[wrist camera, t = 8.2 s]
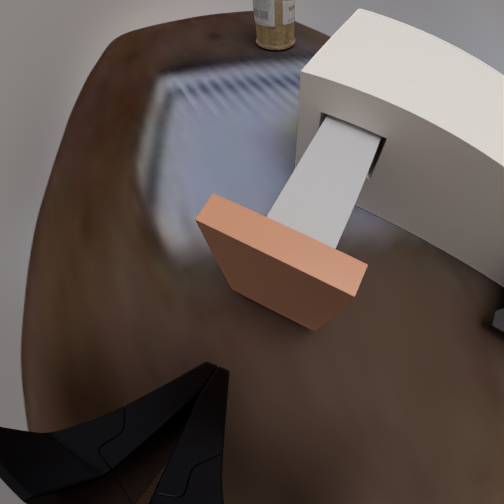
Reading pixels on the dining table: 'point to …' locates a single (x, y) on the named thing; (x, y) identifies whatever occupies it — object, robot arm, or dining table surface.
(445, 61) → the block
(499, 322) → the plunger grey
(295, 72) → the dining table surface
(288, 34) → the sprinkles bottle
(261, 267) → the plunger terracotta
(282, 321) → the dining table surface
